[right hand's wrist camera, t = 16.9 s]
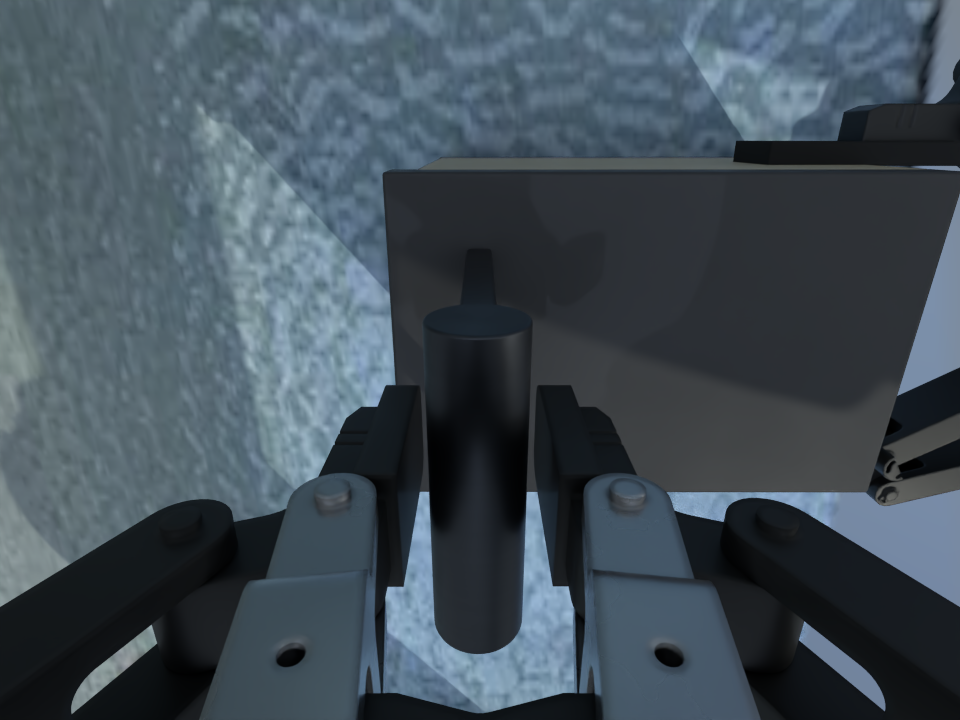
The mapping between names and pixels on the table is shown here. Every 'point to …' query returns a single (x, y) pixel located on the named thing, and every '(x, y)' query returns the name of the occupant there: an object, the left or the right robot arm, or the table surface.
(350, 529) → the right robot arm
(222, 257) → the table surface
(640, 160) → the chest
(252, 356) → the table surface
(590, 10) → the table surface
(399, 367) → the lid
